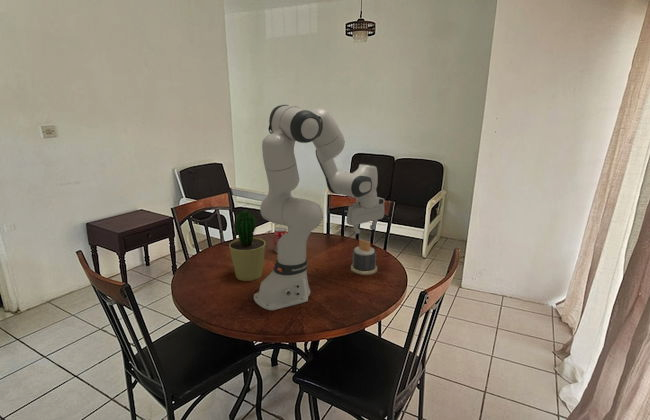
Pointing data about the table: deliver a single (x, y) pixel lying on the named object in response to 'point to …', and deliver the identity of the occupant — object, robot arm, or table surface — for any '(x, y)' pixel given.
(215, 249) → the table surface
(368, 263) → the cylinder
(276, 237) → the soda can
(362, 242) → the cap
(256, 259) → the potted cactus
